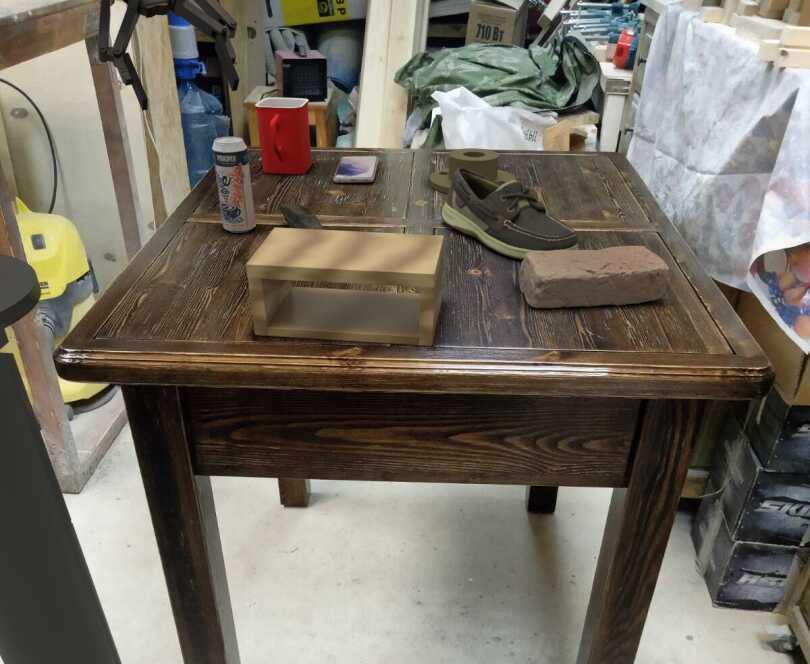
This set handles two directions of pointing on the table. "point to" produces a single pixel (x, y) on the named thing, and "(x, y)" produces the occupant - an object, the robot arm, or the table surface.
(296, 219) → the tool
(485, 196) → the boat shoe
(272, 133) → the mug
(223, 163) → the beer can
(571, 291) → the brick
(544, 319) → the table surface
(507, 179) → the flange
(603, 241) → the table surface
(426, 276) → the shelf
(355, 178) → the smartphone
